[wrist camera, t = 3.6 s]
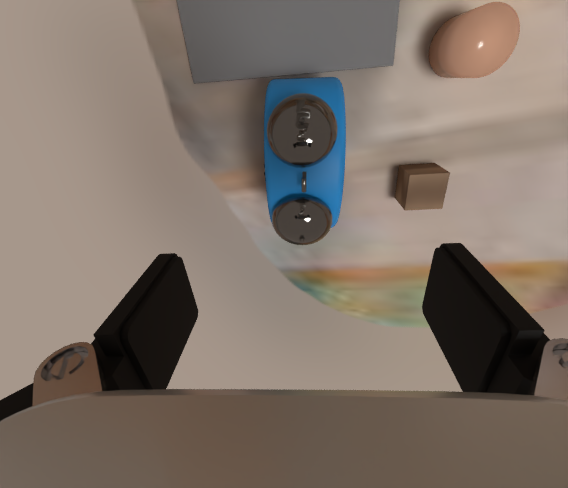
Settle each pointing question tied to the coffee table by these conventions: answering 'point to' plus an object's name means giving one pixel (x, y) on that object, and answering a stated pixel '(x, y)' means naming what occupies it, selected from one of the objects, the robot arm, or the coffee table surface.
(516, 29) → the tan egg shape
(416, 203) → the walnut block
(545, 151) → the coffee table surface
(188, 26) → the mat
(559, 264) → the coffee table surface
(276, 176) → the alarm clock
